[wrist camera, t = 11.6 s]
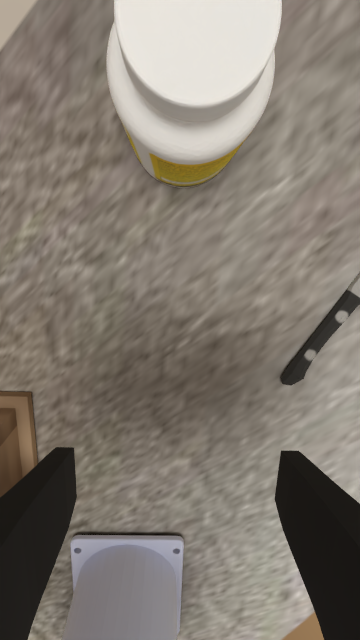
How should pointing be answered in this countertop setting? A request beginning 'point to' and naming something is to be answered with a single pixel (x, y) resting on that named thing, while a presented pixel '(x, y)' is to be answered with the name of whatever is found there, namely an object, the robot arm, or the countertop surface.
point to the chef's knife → (323, 333)
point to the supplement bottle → (191, 80)
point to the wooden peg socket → (16, 438)
